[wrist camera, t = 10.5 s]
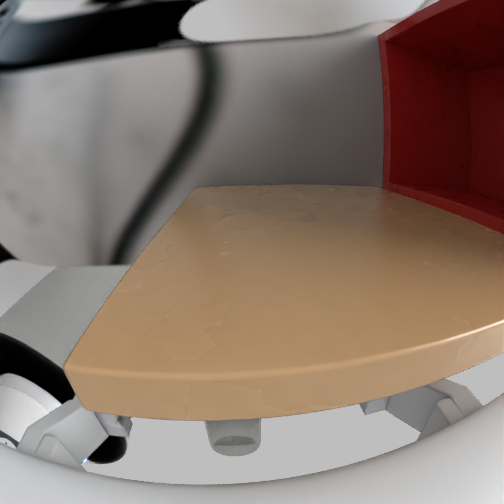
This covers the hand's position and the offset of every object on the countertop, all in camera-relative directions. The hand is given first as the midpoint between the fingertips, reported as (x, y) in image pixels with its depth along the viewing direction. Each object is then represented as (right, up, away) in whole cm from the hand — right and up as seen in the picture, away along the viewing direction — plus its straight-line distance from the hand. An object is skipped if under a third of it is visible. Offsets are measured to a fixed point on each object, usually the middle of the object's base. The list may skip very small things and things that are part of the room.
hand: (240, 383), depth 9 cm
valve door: (+3, +6, +9) cm, 11 cm away
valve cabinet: (+14, +14, +7) cm, 21 cm away
